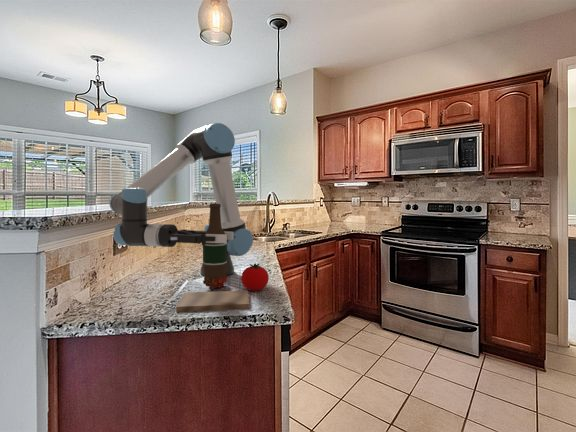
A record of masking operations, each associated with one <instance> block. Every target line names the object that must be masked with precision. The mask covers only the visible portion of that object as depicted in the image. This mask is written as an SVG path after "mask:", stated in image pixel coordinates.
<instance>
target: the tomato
mask: <svg viewBox="0 0 576 432" xmlns="http://www.w3.org/2000/svg"><path fill="white" fill-rule="evenodd" d="M248 265H249V266H248V267H246V268H245V269H244V270H243V271H242V273H241V276H240V280H241V281H240V282H241V284H242V286H244V287H243V288H246V289H247V290H248V291H253V292H254V291H255V292H256V291H261V290H262V289H264V288H265V287H266V286H267V285H268V283H269V277H270V275H269V273H268V271H267V269H266V268H264V267H262V266H264V265H263V264H262V265H260V262H259V263H254V264H251V263H248Z"/></svg>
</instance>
